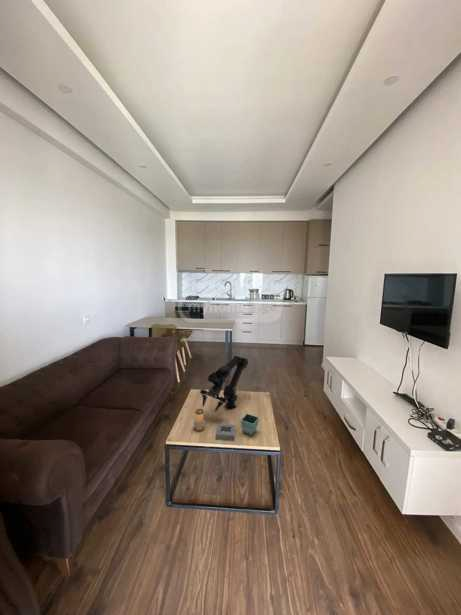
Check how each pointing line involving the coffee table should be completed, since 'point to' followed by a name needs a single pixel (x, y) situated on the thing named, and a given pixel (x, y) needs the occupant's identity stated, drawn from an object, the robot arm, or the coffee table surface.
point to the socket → (225, 436)
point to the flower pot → (249, 423)
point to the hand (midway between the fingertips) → (208, 409)
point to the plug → (199, 419)
